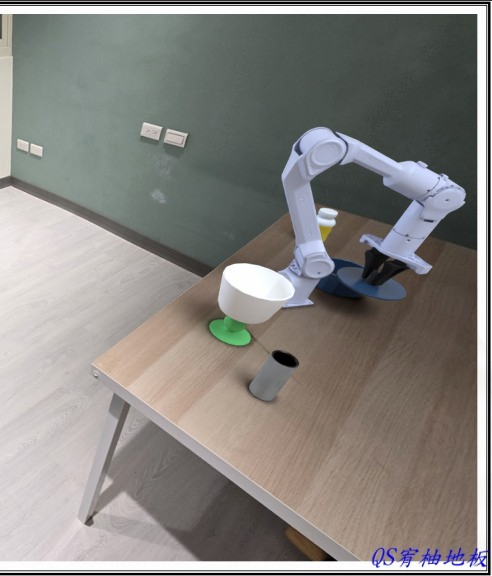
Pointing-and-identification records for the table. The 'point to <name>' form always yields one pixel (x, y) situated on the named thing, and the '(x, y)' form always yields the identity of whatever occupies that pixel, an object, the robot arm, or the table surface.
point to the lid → (370, 284)
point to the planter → (273, 375)
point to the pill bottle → (326, 221)
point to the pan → (332, 282)
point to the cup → (248, 300)
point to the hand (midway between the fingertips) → (371, 281)
